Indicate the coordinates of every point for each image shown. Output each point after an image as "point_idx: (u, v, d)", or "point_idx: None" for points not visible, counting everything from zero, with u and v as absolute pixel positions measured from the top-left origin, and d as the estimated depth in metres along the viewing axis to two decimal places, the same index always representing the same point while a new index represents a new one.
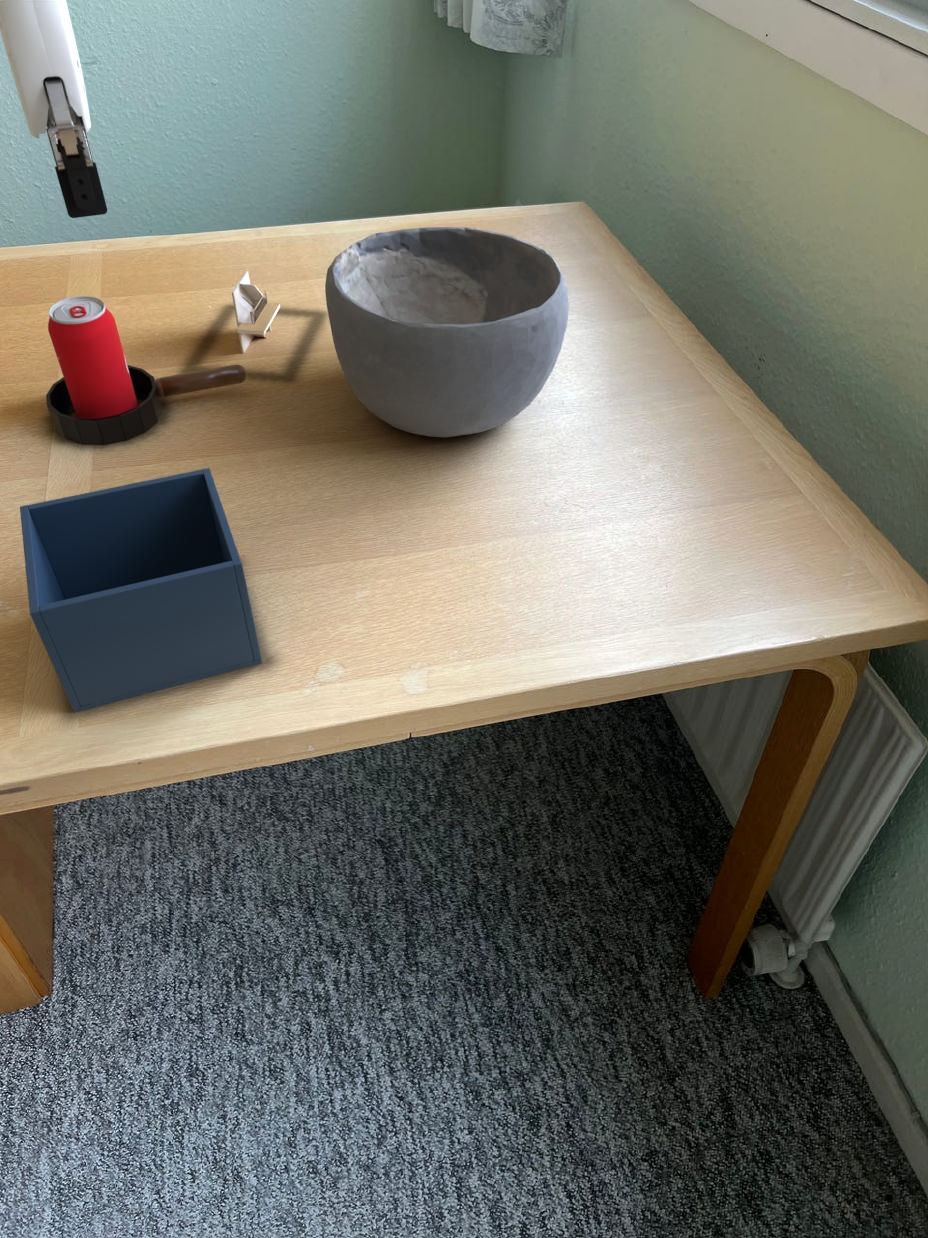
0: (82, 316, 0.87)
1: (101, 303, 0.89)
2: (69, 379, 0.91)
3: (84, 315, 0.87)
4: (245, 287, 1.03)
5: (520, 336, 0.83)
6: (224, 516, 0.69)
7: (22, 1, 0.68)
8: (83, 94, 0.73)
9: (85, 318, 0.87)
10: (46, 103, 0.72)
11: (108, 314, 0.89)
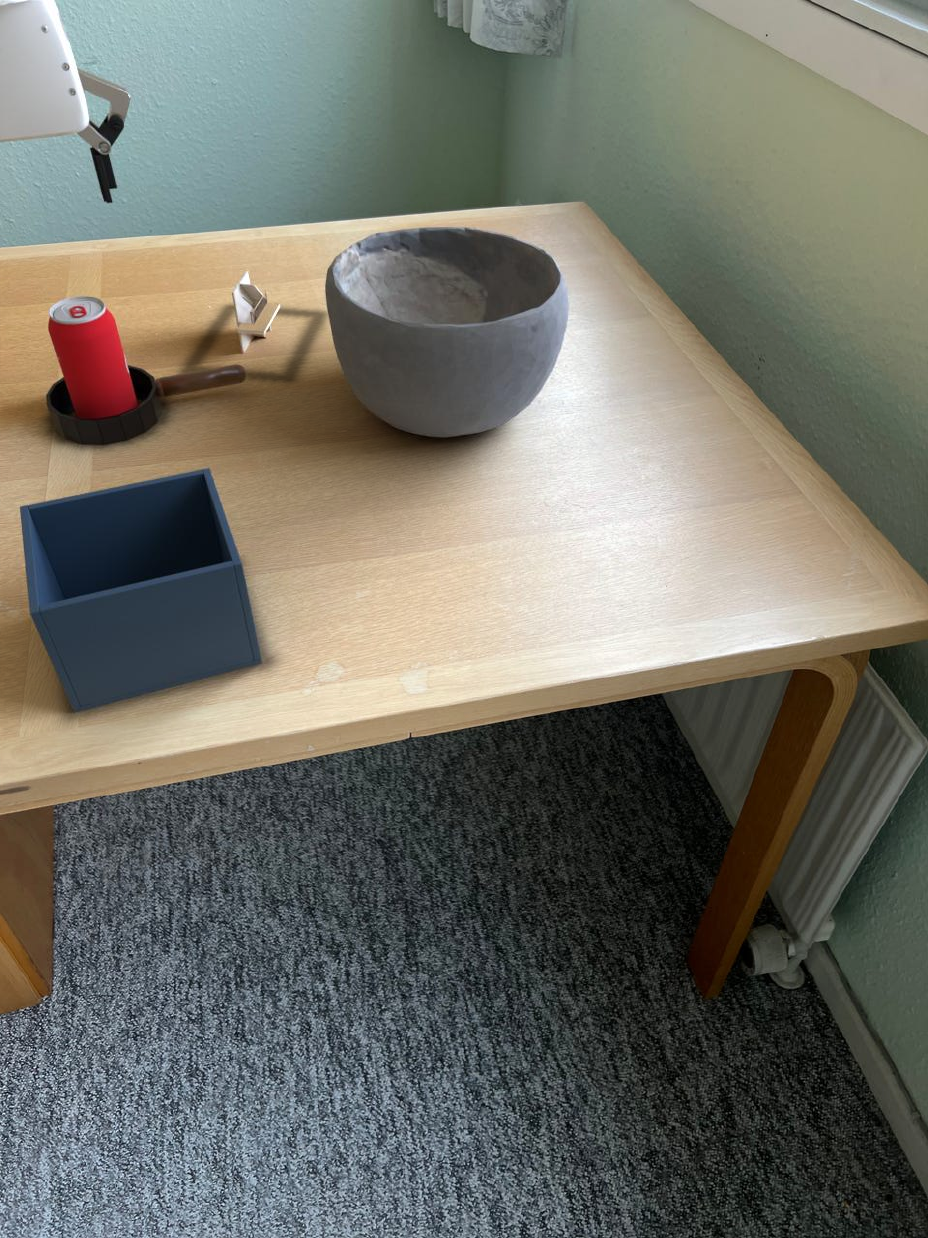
0: (82, 316, 0.87)
1: (101, 303, 0.89)
2: (69, 379, 0.91)
3: (84, 315, 0.87)
4: (245, 287, 1.03)
5: (520, 336, 0.83)
6: (224, 516, 0.69)
7: None
8: None
9: (85, 318, 0.87)
10: None
11: (109, 314, 0.89)
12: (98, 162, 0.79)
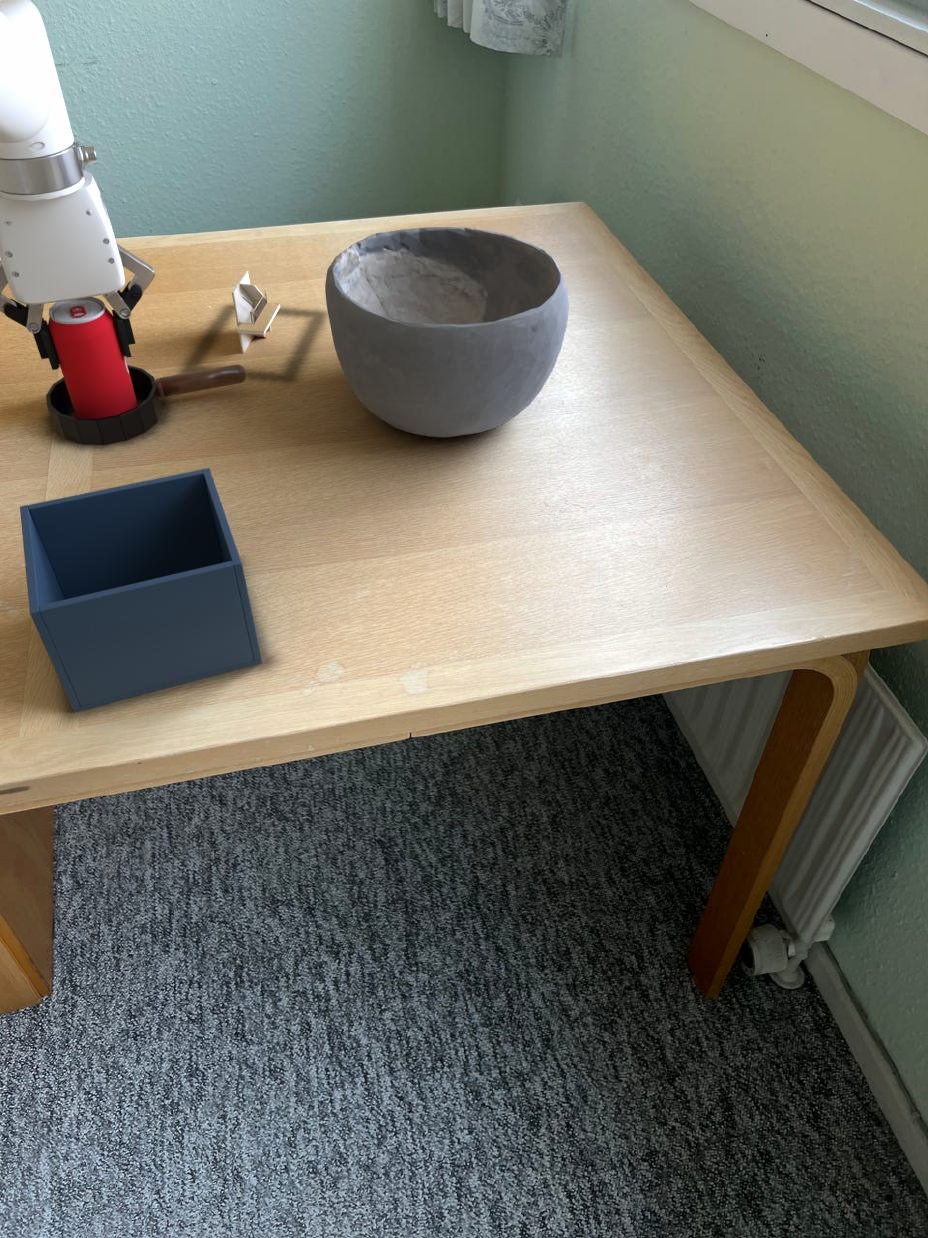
0: (82, 316, 0.87)
1: (101, 303, 0.89)
2: (68, 379, 0.91)
3: (84, 315, 0.87)
4: (245, 287, 1.03)
5: (520, 336, 0.83)
6: (224, 516, 0.69)
7: None
8: (9, 276, 0.82)
9: (85, 318, 0.87)
10: None
11: (108, 314, 0.89)
12: (119, 325, 0.89)
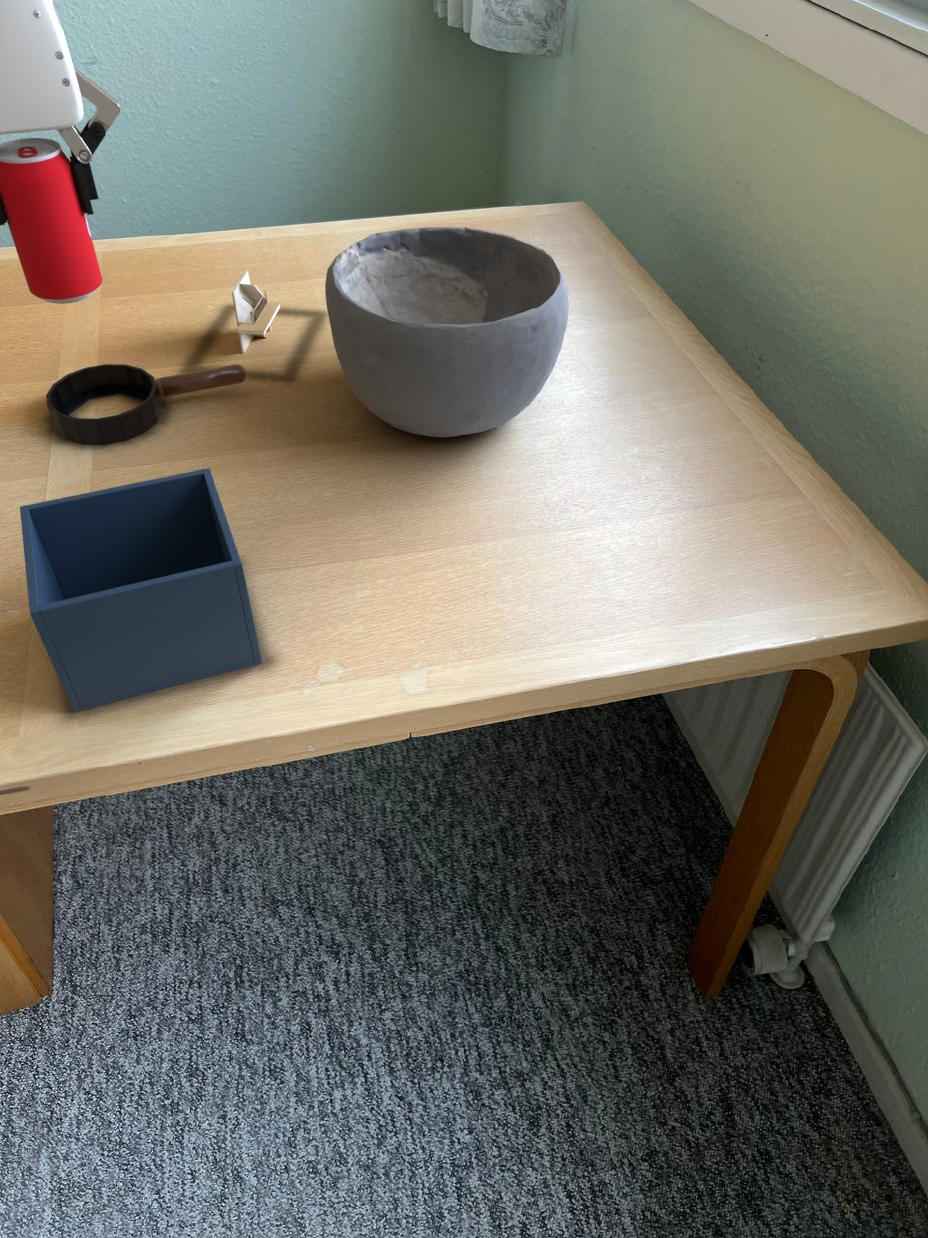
0: (32, 156, 0.73)
1: (56, 145, 0.75)
2: (18, 237, 0.76)
3: (35, 155, 0.73)
4: (245, 287, 1.03)
5: (520, 336, 0.83)
6: (224, 516, 0.69)
7: None
8: None
9: (36, 157, 0.73)
10: None
11: (65, 157, 0.75)
12: (78, 171, 0.75)
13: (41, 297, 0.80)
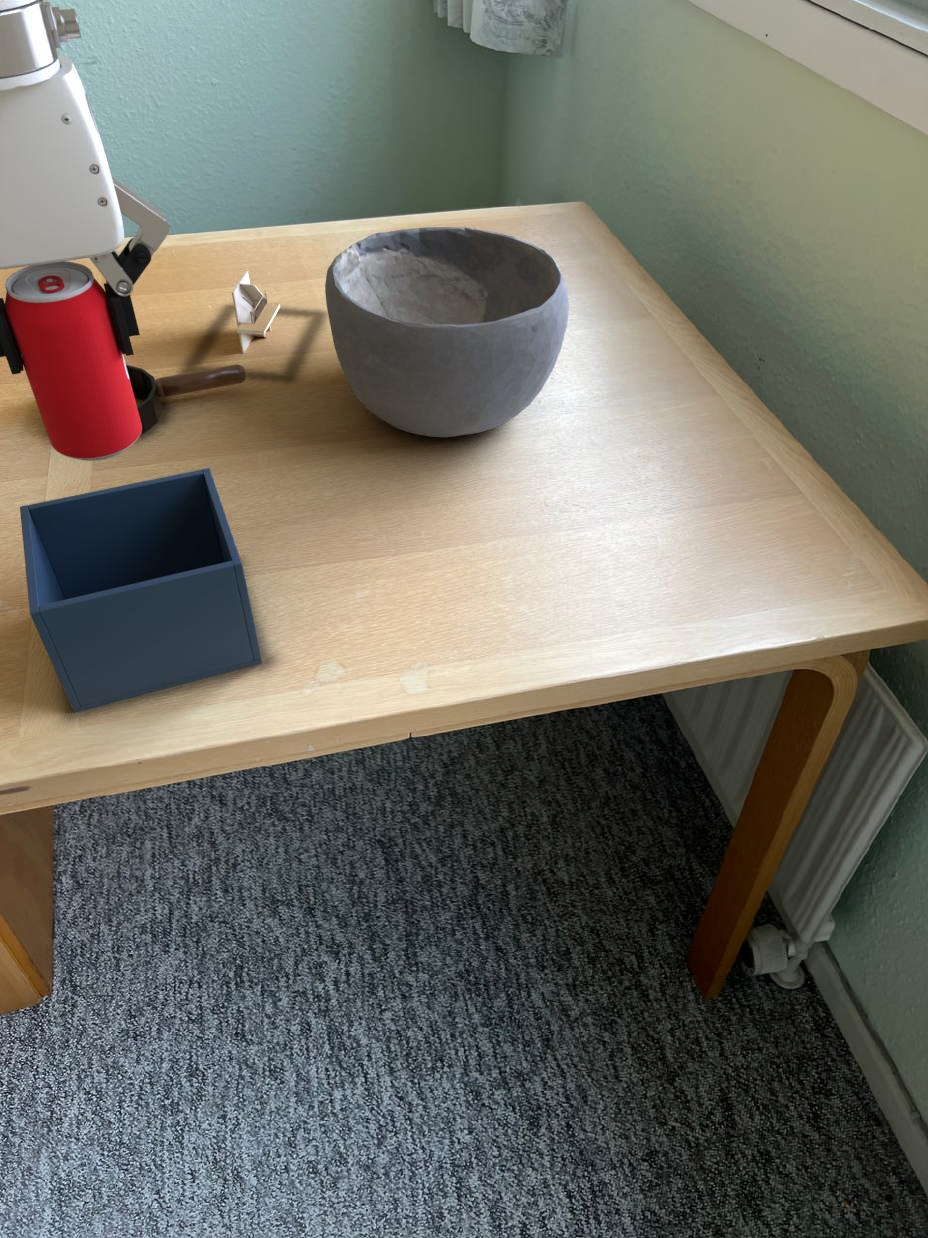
0: (57, 291, 0.56)
1: (87, 272, 0.58)
2: (38, 387, 0.60)
3: (60, 289, 0.56)
4: (245, 287, 1.03)
5: (520, 336, 0.83)
6: (224, 516, 0.69)
7: None
8: None
9: (62, 294, 0.56)
10: None
11: (98, 288, 0.58)
12: (115, 306, 0.58)
13: (66, 455, 0.63)
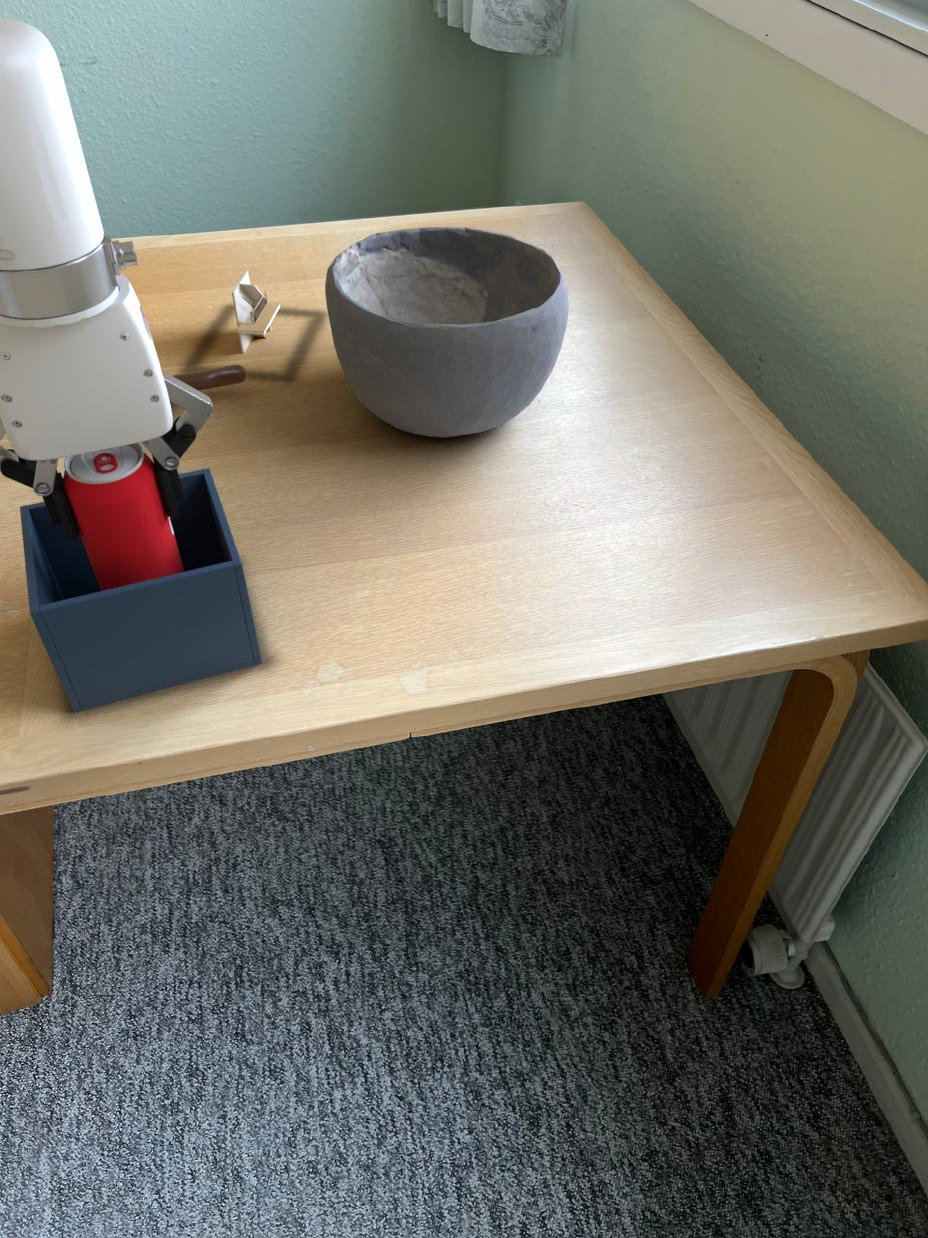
0: (112, 471, 0.61)
1: (137, 447, 0.64)
2: (92, 550, 0.65)
3: (114, 469, 0.62)
4: (245, 287, 1.03)
5: (520, 336, 0.83)
6: (224, 516, 0.69)
7: None
8: (8, 427, 0.56)
9: (116, 474, 0.61)
10: None
11: (148, 463, 0.63)
12: (163, 479, 0.63)
13: None
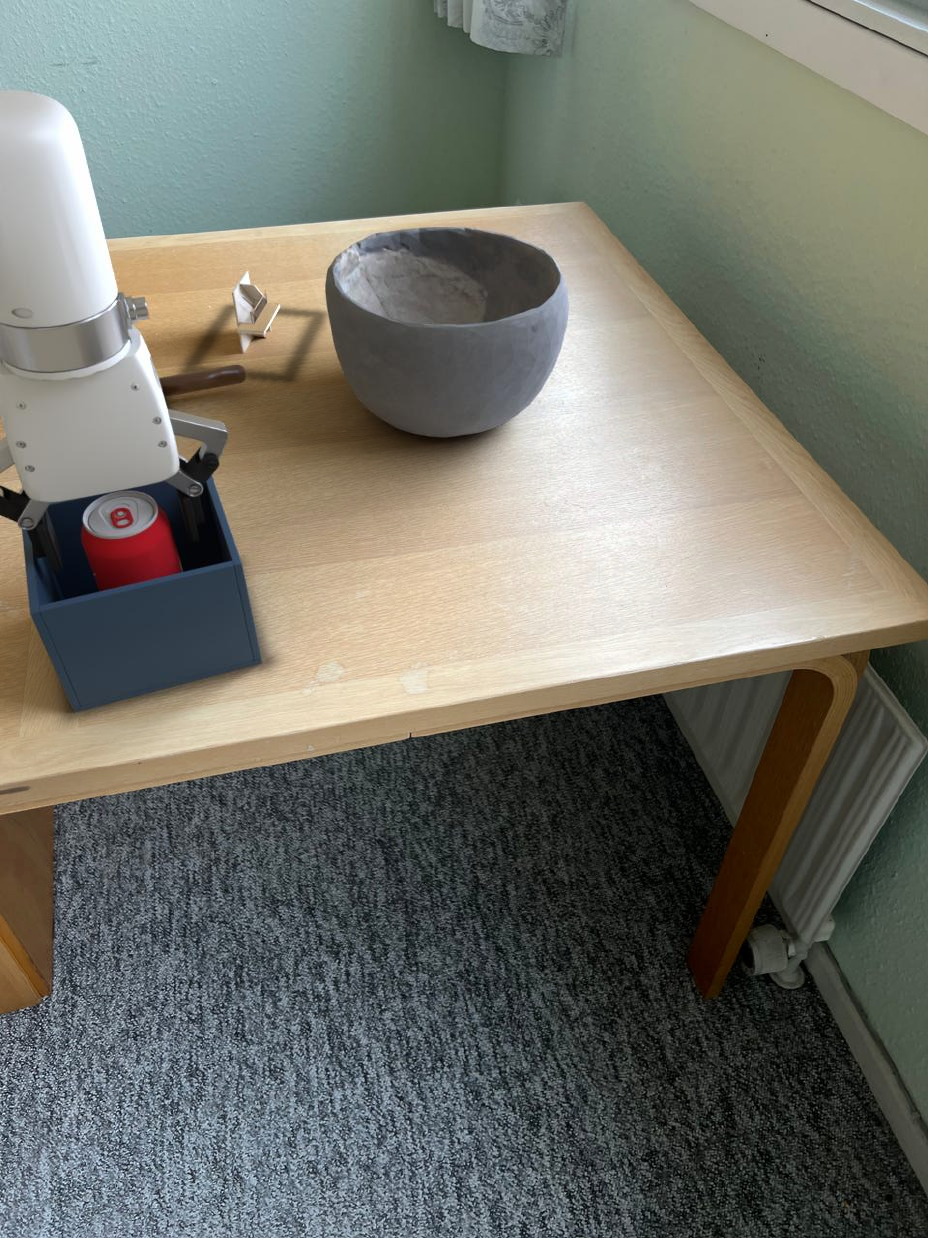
0: (128, 526, 0.65)
1: (152, 502, 0.67)
2: None
3: (130, 524, 0.65)
4: (245, 287, 1.03)
5: (520, 336, 0.83)
6: (224, 516, 0.69)
7: None
8: (21, 471, 0.59)
9: (132, 529, 0.65)
10: None
11: (162, 517, 0.67)
12: (186, 506, 0.65)
13: None
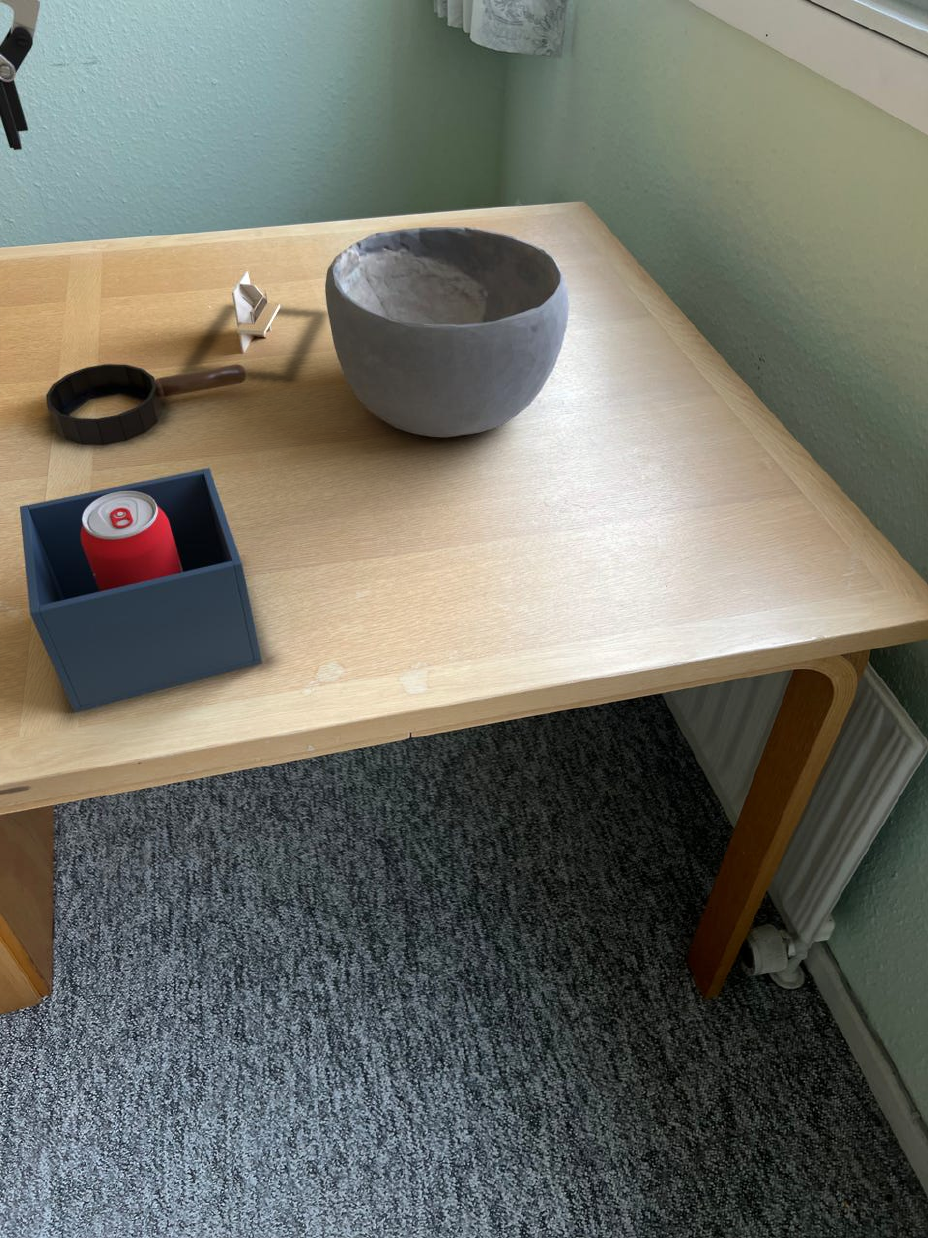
0: (127, 526, 0.65)
1: (151, 502, 0.67)
2: None
3: (130, 524, 0.65)
4: (245, 287, 1.03)
5: (520, 336, 0.83)
6: (224, 516, 0.69)
7: None
8: None
9: (132, 529, 0.65)
10: None
11: (161, 517, 0.67)
12: None
13: None
